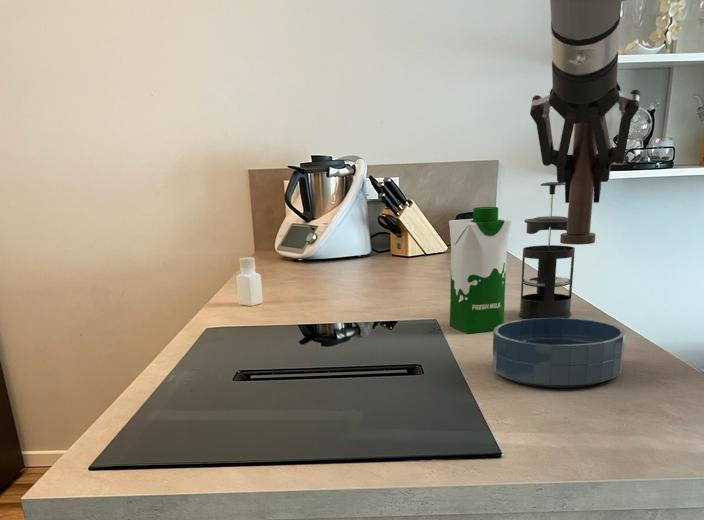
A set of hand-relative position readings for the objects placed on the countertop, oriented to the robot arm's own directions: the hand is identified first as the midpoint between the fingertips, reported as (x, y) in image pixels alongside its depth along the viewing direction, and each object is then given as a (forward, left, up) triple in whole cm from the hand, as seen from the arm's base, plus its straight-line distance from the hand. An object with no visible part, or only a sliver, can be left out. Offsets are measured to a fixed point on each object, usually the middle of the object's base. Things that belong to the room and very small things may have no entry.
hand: (583, 195), depth 113 cm
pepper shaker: (+63, -36, -22) cm, 76 cm away
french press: (+3, -25, -22) cm, 34 cm away
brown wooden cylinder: (+1, +4, -6) cm, 7 cm away
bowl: (+3, +15, -22) cm, 27 cm away
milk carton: (+15, -14, -22) cm, 30 cm away
